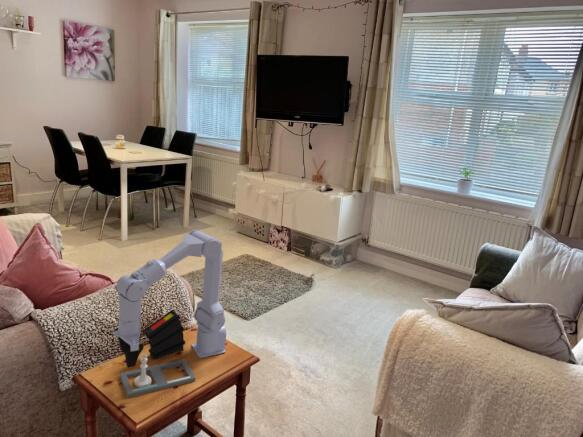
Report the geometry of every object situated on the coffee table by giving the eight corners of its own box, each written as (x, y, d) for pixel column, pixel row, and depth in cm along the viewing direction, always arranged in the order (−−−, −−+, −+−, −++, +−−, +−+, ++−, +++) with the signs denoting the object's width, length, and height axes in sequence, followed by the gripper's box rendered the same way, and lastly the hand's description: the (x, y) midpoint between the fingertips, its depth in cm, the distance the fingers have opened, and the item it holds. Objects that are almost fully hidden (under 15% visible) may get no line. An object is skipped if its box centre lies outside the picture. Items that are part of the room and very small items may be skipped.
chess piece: (134, 377, 131) (135, 348, 128) (151, 376, 133) (153, 348, 130) (133, 388, 127) (135, 359, 124) (151, 386, 128) (153, 358, 125)
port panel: (184, 362, 141) (185, 358, 141) (195, 380, 133) (195, 377, 133) (120, 376, 130) (120, 372, 130) (127, 397, 123) (127, 394, 122)
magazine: (192, 343, 149) (178, 313, 140) (159, 369, 142) (142, 339, 134) (187, 338, 151) (172, 308, 143) (154, 363, 145) (137, 333, 136)
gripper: (109, 306, 124) (108, 347, 128) (119, 333, 113) (118, 377, 116) (135, 302, 128) (133, 342, 132) (147, 328, 116) (145, 371, 120)
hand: (128, 358), depth 124 cm, fingers open, 7 cm apart
